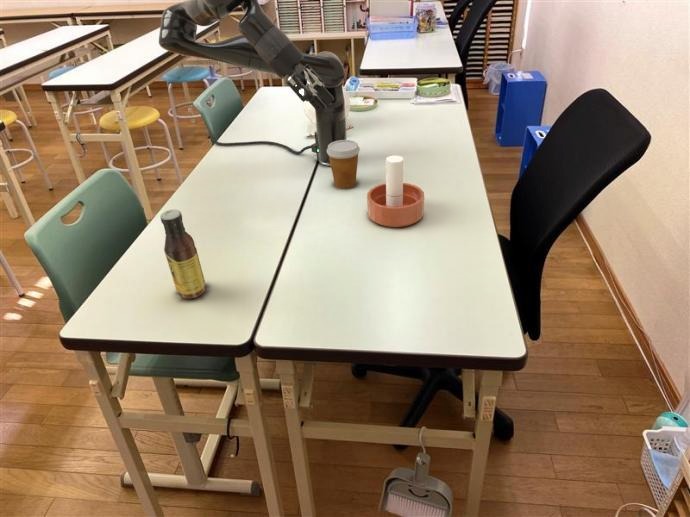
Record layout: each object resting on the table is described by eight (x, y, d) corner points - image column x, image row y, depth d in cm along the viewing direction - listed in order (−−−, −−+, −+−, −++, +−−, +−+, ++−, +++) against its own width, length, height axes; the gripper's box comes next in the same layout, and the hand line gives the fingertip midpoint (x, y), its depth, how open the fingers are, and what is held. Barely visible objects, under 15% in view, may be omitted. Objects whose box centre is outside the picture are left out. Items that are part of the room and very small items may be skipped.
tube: (401, 216, 135) (402, 162, 126) (385, 215, 135) (384, 162, 127) (403, 208, 138) (404, 155, 130) (387, 207, 139) (387, 155, 130)
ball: (352, 98, 201) (340, 50, 180) (359, 150, 190) (346, 106, 169) (309, 107, 203) (291, 61, 182) (313, 159, 192) (295, 116, 171)
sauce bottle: (180, 284, 116) (158, 206, 105) (208, 282, 116) (189, 203, 105) (175, 302, 111) (150, 222, 100) (204, 300, 111) (183, 219, 100)
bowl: (356, 218, 137) (355, 198, 133) (389, 197, 146) (388, 177, 142) (402, 235, 129) (403, 213, 125) (433, 211, 138) (434, 191, 134)
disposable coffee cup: (366, 179, 156) (364, 141, 149) (353, 193, 149) (351, 153, 142) (337, 175, 159) (335, 137, 153) (323, 188, 152) (320, 149, 146)
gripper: (277, 58, 127) (323, 109, 131) (258, 69, 115) (309, 124, 119) (298, 36, 123) (344, 89, 127) (280, 44, 111) (332, 102, 115)
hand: (327, 106), depth 123 cm, fingers open, 8 cm apart
